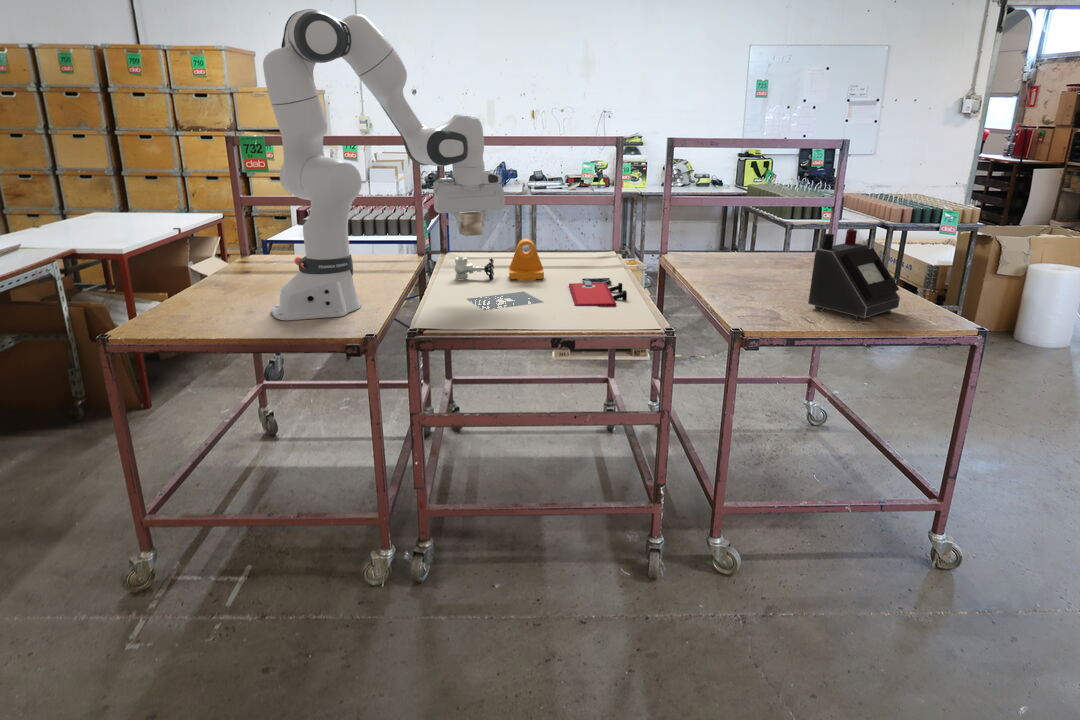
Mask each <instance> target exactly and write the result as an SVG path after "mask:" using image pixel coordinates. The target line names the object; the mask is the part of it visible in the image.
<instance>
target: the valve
mask: <svg viewBox="0 0 1080 720" xmlns="http://www.w3.org/2000/svg"><path fill="white" fill-rule="evenodd" d="M488 260H489V262H488V263H487V264H486V265H484V266H482V265H477V266H475V265H474V263H469V264H468V258H467V257H466V256H465V257H464V256H458V257H455V258H454V264H455V265H454V271H455V279H456V278H457V279H456V280H458V279H465V280H467V279H466V278H469V277H468V276H469V275H468V273H469V274H474V273H475V272H477V273H478V272H479V273H481V272H482V271H484V273H486V275H487V276H488V278H489V280H494V275H495V272H494V269H495V265H494V259H493V258H492V257H491V258H489V259H488Z"/></svg>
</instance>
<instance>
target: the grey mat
mask: <svg viewBox="0 0 1080 720" xmlns="http://www.w3.org/2000/svg"><path fill="white" fill-rule="evenodd" d="M495 296H496V297H495ZM501 296H503V297H501ZM476 297H477V296H476ZM476 297H470V298H469V297H467V298H466V300H467V301H469V302H470V303H472V304H473V305H475V300H476V299H477V300H476V305H477V306H476V305H475V306H476V307H478V306H479V307H478V308H480V309H481V310H482V306H484V307H486V308H487V306H489V307H490V308H489V309H490V310H496V309H497V310H498V308H497V307H498V305H497V304H498V303H499V302H500V303H501V302H504V304H502V305H499V306H502V307H503V308H504V305H507V306H506V307H505V308H509V307H510V308H511V307H518V306H519V307H520V306H525V305H529V304H528V301H530V302H531V304H530V305H532V304H533V305H534V304H541V303H544V301H543V300H541V299H539V298H537V297H535V296H533V295H531V294H529V293H527V292H525V291H519V292H510V293H501V294H494V295H492V294H491V295H487V296H486V295H485V296H478V297H477V298H476ZM480 297H482V298H480ZM485 297H487V298H485ZM497 297H499V298H497ZM500 297H501V298H503V299H500ZM489 298H490V299H489ZM495 298H496V299H495ZM528 298H530V299H528ZM498 299H500V300H498ZM479 300H481V301H480V304H481V305H478V304H479ZM484 300H486V301H485V304H486V305H483V301H484ZM514 300H515V301H514ZM471 301H472V302H471ZM488 301H490V304H489V305H487V303H488ZM496 301H497V302H496ZM505 301H506V304H505ZM496 303H497V304H496ZM513 303H514V305H513ZM486 308H484V309H483V310H482V311H488V309H487V310H486ZM493 308H495V309H493ZM503 308H502V309H503Z"/></svg>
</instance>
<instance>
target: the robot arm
mask: <svg viewBox="0 0 1080 720" xmlns="http://www.w3.org/2000/svg"><path fill="white" fill-rule="evenodd" d="M340 58H341V59H343V60H344V61H345V62H346V63H348V64H349V66H350V67H351V69H352V70H353V71H354V73H355V74H356V75H357V77H358V78H359V79H360V81H361V82H362V84H364V85H365V87H366V88H367V89H368V91H369V92H370V93H371V94H372V96H373V97H374V99H376V101H377V102H378V103H379V105H380V107H381V109H383V111H384V113H385V114H386V116H387V117H388V118H389V120H390V121H391V123H392V125H393V126H394V127H395V129H396V130H397V131H398V133H399V135H400V137H401V139H402V142H403V145H404V149H405V152H406V154H407V156H408V158H409V159H410V160H411V161H412V162H413V163H415V164H416V165H419V166H433V167H434V166H435V167H447V166H450V165H451V166H452V168H451V169H452V177H447V178H443V177H442V178H441V177H440V178H438V179H437V180H435V181H434V182H433V185H432V189H433V190H432V191H433V194H434V195H433V196H434V197H433V210H434V211H435V212H436V213H438V214H451V216H452V218H453V219H454V221H455V227H456V229H457V230H459V229H460V228H463V222H462V221H460V220H459V212H469V211H476V212H480V213H482V228H483V227H484V228H485V221H486V219H487V217H488V215H489V211H495V210H496V211H498V210H503V209H504V208H505V205H506V199H505V191H504V190H505V189H504V187H503V185H502V184H501V183H502V176H501V175H500V174H496V173H493V172H491V171H488V170H485V166H486V165H485V161H484V151H485V137H484V129H483V128H484V127H483V125H482V122H481V120H480V119H479V118H477V117H475V116H472V115H468V114H467V115H465V114H454V115H453V116H452V117H451V118H450V119H449V120H448V121H447V122H445V123H443V124H442V125H439V126H436V128H433V127H431V128H430V126H429V127H428V126H426V125H424V124H423V123H422V122H421V120H419V117H418V116H417V115H416V114H415V112H414V111H413V109H412V108H411V106H410V104H409V102H408V101H407V99H406V98H405V96H404V95H405V94H404V89H405V88H404V87H405V86H406V84H407V83H406V82H407V77H408V73H407V71H408V70H407V69H406V66H405V64H404V63H403V60H402V58H401V57H400V55H399V54H398V52H397V51H396V49H395V48H394V47H393V45H392V44H391V43H390V41H389V40H388V38H387V37H386V36H385V35H384V34H383V33H382V32H381V30H380V29H379V28H378V27H377V26H376V25H375V24H374V23H373V22H372V21H371V20H370V18H368V17H367V16H365V15H364V14H359V13H356V14H351V15H348V16H346V17H344V19H342V20H341V19H338V18H337V17H335V16H332V15H331V14H329V13H326V12H324V11H320V10H318V9H317V10H316V9H313V8H307V9H301V10H299V11H296V12H294V13H293V14H291V15H290V16H289V17H288V19H287V20H286V23H285V26H284V30H283V37H282V41H281V47H279V48H276V49H274V50H271V51H270V52H268V53H267V54H266V55H265V57H264V58H263V60H262V61H263V63H262V67H263V74H264V81H265V85H266V90H267V94H268V98H269V101H270V103H271V107H272V110H273V114H274V117H275V120H276V123H277V125H278V129H279V130H278V131H279V133H280V137H281V143H282V150H283V163H282V165H281V166H280V170H279V180H280V184H281V186H282V188H283V190H285V191H286V192H288V193H289V194H291V195H293V196H294V197H296V198H298V199H300V200H301V199H302V200H304V201H305V200H306V201H310V210H309V213H308V214H309V215H308V218H307V220H306V221H305V222H304V223H303V225H302V237H303V244H304V245H303V247H304V253H305V256H304V257H302V258H301V257H300V256H296V257H295V258H294V260H293V261H294V263H295V265H296V266H298V271H299V272H297V273H296V275H294V276H293V277H292V278H291V279H290V280H288V282H287V283H285V284H284V285H283V286H282V287H281V289H280V294H279V303H277V304H275V305H274V306H272V307H271V314H272V316H273V317H274V318H275V319H278V320H281V321H296V320H297V321H298V320H309V319H320V318H321V319H323V318H325V319H326V318H335V317H336V318H337V317H338V318H339V317H344V316H346V315H347V314H348V313H352V312H354V311H356V310H358V309H359V308H361V306H362V305H361V302H360V300H359V297H358V294H357V291H356V287H355V282H354V277H353V275H354V262H353V257H352V254H351V253H350V241H349V231H348V230H349V227H348V225H349V217H350V212H351V208H352V204H353V202H354V201H355V199H356V198H357V197H358V196H359V195H360V192H361V190H362V182H363V181H362V177H361V174H360V172H359V170H358V168H357V167H356V166H355V165H353V164H352V163H350V162H348V161H346V160H343V159H341V158H337V157H329V156H327V157H326V155H325V151H324V138H325V135H326V133H327V131H328V124H327V120H326V117H325V113H324V110H323V106H322V103H321V99H320V96H319V92H318V90H317V87H316V84H315V79H314V69H315V66H316V64H323V63H329V62H332V61H335V60H337V59H340Z"/></svg>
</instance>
